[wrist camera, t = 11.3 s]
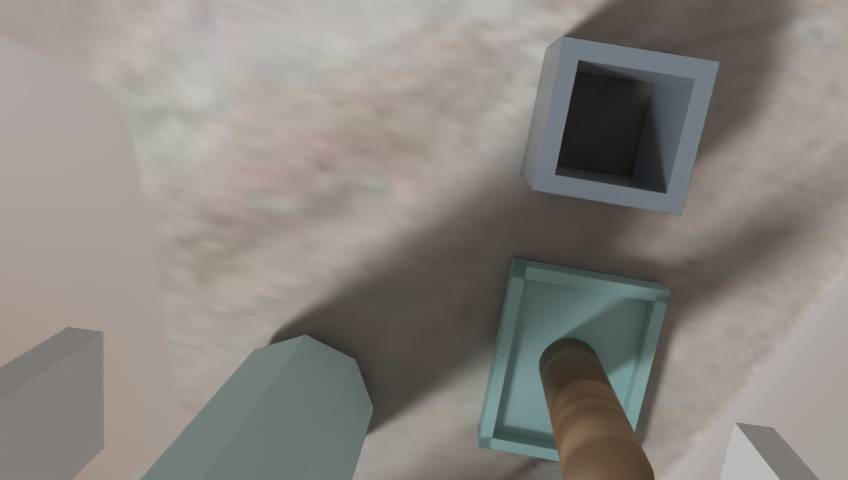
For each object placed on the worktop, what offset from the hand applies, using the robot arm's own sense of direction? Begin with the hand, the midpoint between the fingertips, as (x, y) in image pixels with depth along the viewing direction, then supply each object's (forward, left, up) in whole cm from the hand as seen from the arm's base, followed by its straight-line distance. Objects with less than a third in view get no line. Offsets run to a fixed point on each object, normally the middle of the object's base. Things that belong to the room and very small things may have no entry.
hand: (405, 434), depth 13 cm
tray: (+9, +10, -30) cm, 33 cm away
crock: (-7, +8, -30) cm, 32 cm away
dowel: (+9, +10, -29) cm, 32 cm away
